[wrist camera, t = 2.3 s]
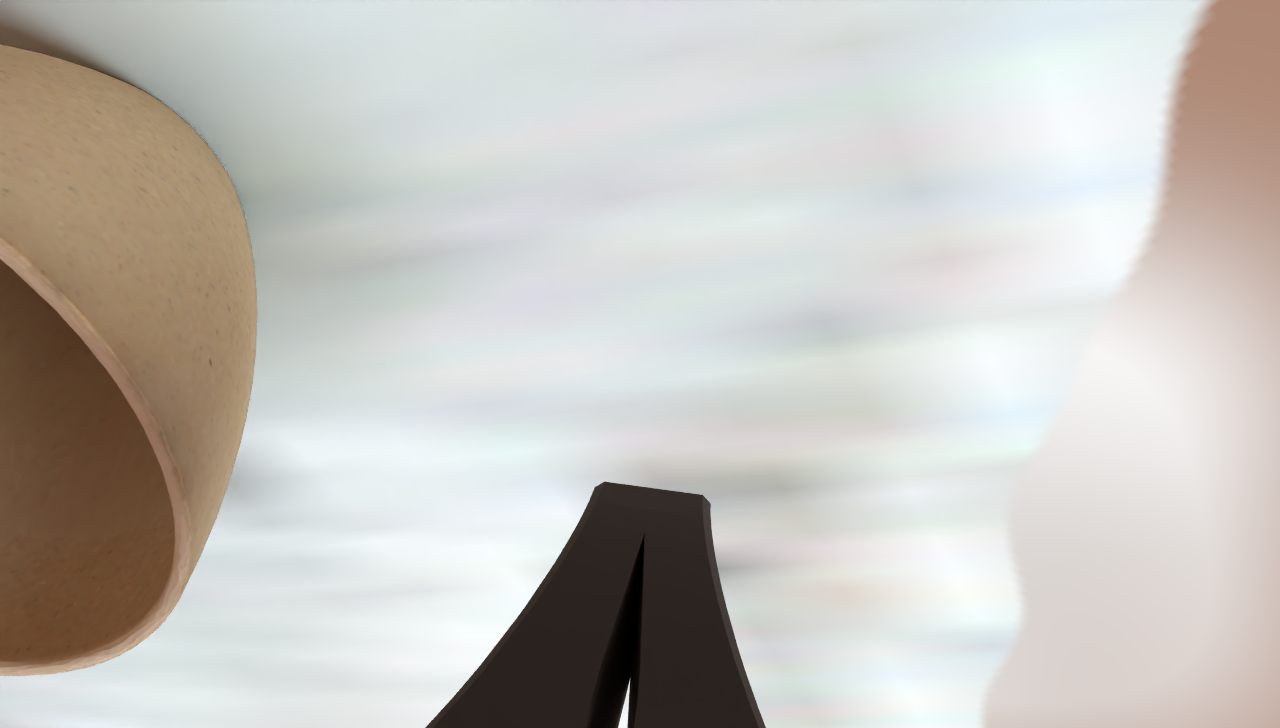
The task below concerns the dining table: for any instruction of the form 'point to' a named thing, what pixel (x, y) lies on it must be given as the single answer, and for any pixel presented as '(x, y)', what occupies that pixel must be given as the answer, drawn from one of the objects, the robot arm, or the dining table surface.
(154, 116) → the flower pot
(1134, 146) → the dining table surface
